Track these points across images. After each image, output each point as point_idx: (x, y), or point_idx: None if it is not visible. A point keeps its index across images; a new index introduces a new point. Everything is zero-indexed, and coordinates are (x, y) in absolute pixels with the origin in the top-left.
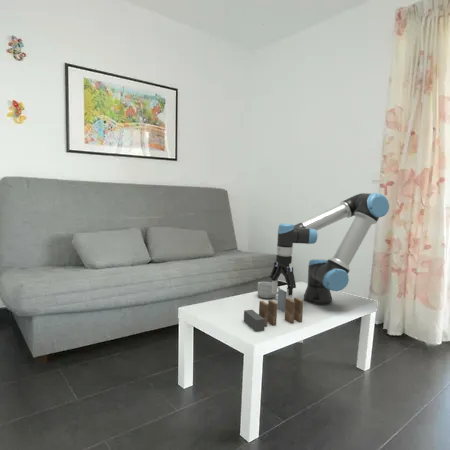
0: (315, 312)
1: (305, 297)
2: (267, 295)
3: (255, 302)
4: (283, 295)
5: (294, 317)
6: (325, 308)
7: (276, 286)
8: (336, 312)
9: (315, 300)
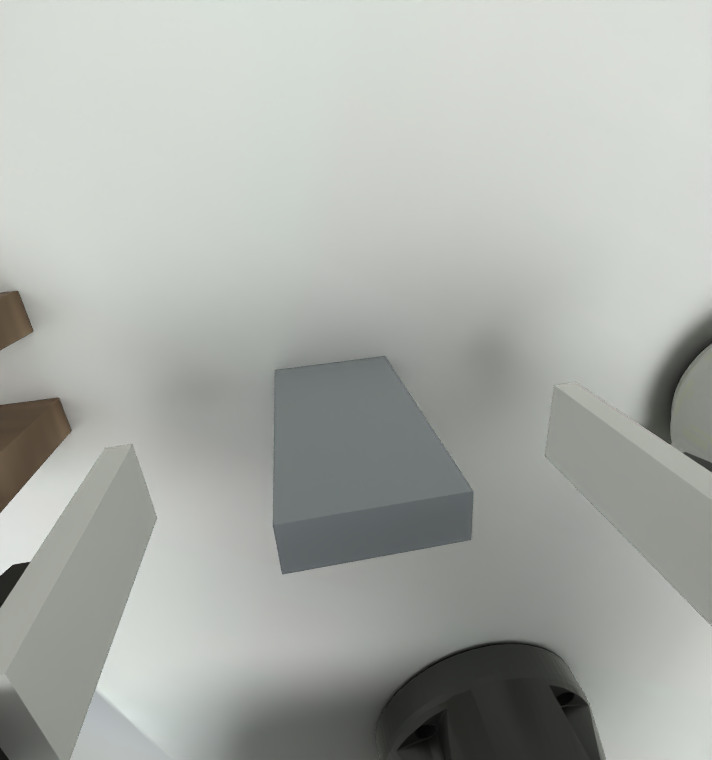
0: (229, 635)
1: (507, 675)
2: (699, 379)
3: (651, 189)
4: (273, 484)
5: (13, 413)
6: (308, 715)
7: (620, 514)
8: (212, 751)
9: (414, 717)
